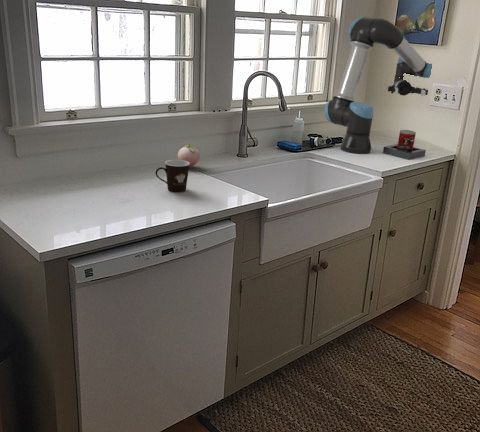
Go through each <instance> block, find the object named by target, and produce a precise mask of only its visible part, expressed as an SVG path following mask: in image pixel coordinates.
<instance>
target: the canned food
mask: <svg viewBox="0 0 480 432" xmlns="http://www.w3.org/2000/svg"><path fill="white" fill-rule="evenodd" d="M416 134H417V133H416V131H414V130H408V129H401V130H399V135H398V139H397V140H398V141H397V144H398V145H397V149H399V150H402V151H406V152H411V151H413V147H414V146H415V145H414V144H415V141H416V140H415V139H416Z"/></svg>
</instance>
